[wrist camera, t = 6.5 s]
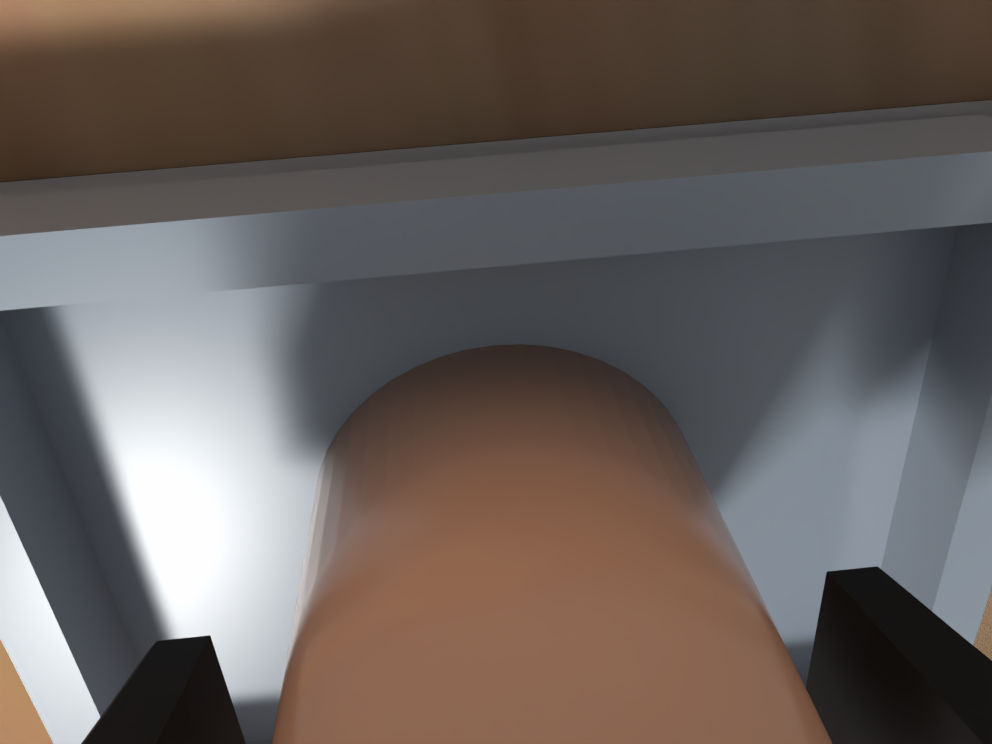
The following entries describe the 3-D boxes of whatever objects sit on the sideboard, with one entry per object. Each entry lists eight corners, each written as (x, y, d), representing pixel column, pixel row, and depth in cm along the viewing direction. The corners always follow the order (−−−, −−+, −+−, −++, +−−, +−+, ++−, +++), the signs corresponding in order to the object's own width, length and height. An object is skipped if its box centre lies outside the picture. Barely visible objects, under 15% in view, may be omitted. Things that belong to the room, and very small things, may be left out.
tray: (877, 674, 16) (933, 770, 14) (148, 754, 15) (114, 863, 14) (1017, 98, 11) (1133, 139, 9) (-90, 190, 10) (-196, 252, 8)
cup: (684, 626, 14) (866, 1130, 8) (346, 662, 14) (296, 1204, 8) (704, 324, 11) (999, 774, 5) (279, 365, 11) (131, 876, 5)
